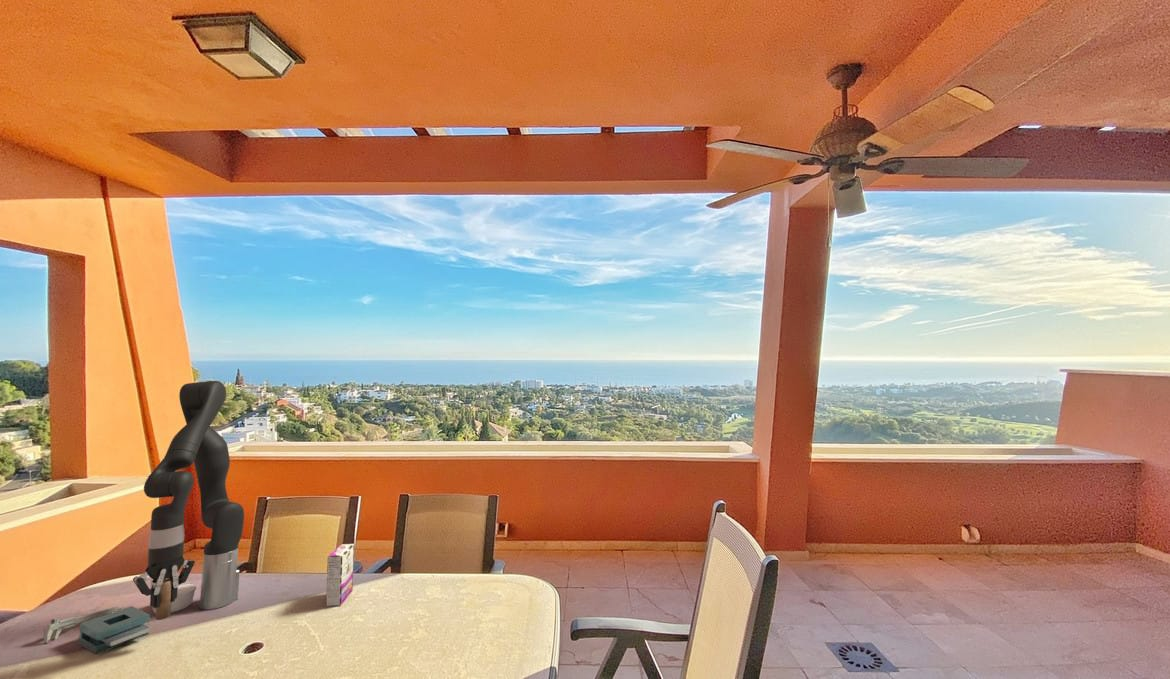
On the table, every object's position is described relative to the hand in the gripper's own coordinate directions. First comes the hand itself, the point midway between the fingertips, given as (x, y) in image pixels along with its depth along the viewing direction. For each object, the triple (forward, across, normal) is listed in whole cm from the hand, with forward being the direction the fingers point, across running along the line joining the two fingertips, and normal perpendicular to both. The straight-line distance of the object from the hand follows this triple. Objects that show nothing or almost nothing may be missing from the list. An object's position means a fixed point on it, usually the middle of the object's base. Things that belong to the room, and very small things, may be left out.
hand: (163, 604), depth 128 cm
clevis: (+11, +4, -14) cm, 19 cm away
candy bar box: (+13, -39, +22) cm, 47 cm away
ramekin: (+12, -13, -23) cm, 29 cm away
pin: (+4, 0, 0) cm, 4 cm away
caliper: (+12, +4, -35) cm, 37 cm away
